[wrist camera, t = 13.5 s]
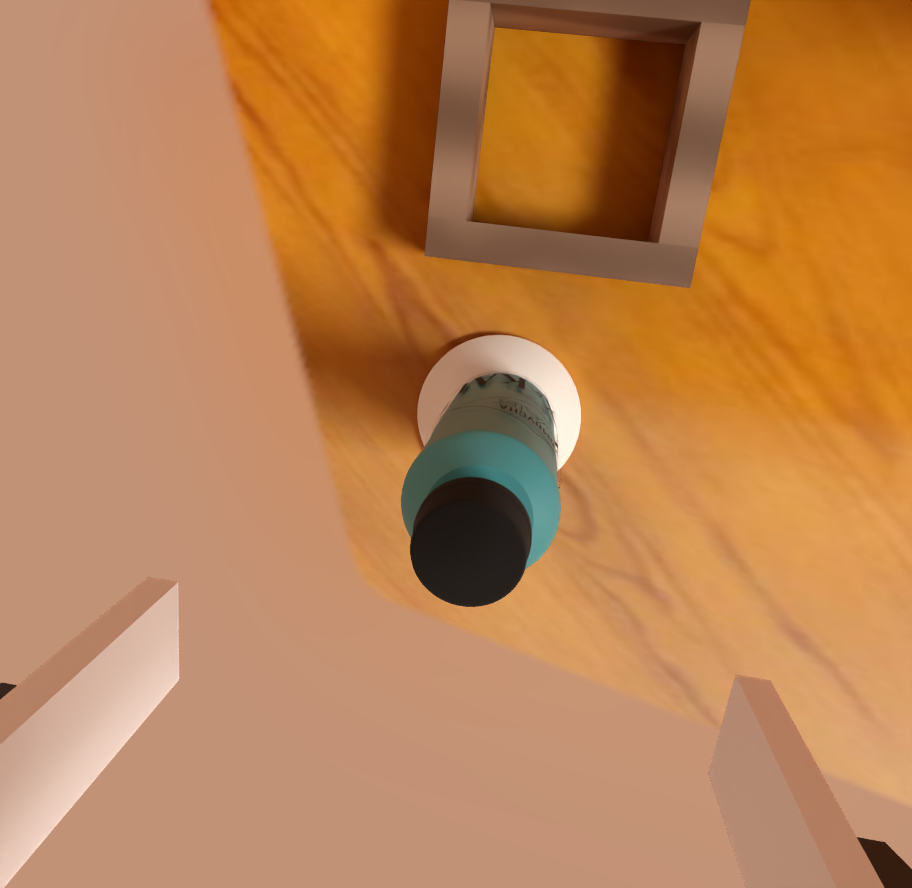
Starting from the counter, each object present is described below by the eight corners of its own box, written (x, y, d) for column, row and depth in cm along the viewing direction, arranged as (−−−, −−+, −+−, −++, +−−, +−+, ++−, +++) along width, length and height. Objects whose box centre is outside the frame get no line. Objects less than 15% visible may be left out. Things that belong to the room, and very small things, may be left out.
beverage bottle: (528, 483, 41) (523, 679, 22) (431, 441, 41) (341, 601, 22) (573, 389, 39) (610, 515, 20) (471, 345, 39) (410, 429, 20)
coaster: (427, 324, 40) (425, 325, 39) (593, 345, 39) (594, 346, 38) (411, 479, 43) (409, 482, 42) (566, 502, 42) (566, 505, 41)
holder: (461, -20, 35) (453, -50, 31) (733, 4, 34) (755, -24, 30) (433, 255, 39) (424, 255, 35) (676, 285, 37) (690, 287, 34)
